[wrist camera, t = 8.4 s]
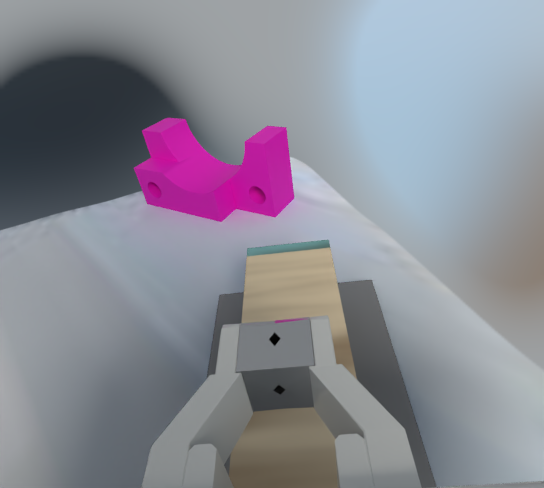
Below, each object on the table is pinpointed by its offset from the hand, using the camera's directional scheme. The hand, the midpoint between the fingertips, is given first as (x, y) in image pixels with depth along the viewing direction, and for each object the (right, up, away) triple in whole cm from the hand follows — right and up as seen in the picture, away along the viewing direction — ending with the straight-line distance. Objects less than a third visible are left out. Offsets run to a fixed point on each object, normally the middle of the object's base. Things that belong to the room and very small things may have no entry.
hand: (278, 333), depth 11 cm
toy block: (-6, +7, +30) cm, 31 cm away
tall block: (+1, -8, +3) cm, 8 cm away
